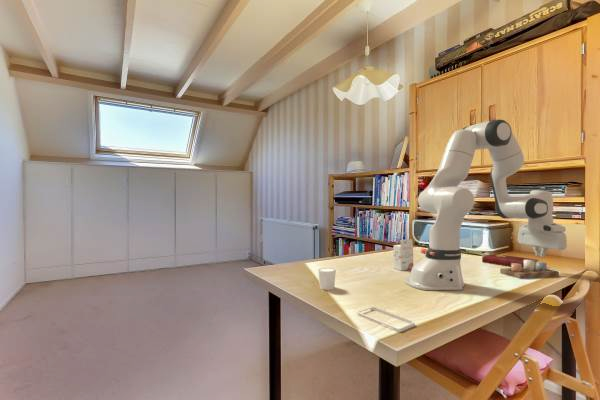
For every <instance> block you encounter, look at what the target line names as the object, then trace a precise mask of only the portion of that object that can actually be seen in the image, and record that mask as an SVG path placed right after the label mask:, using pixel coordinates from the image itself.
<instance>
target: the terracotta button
mask: <svg viewBox="0 0 600 400" xmlns="http://www.w3.org/2000/svg"><path fill="white" fill-rule="evenodd" d="M510 268H511V271H514V272H522V264H518V263H511V267H510Z"/></svg>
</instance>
